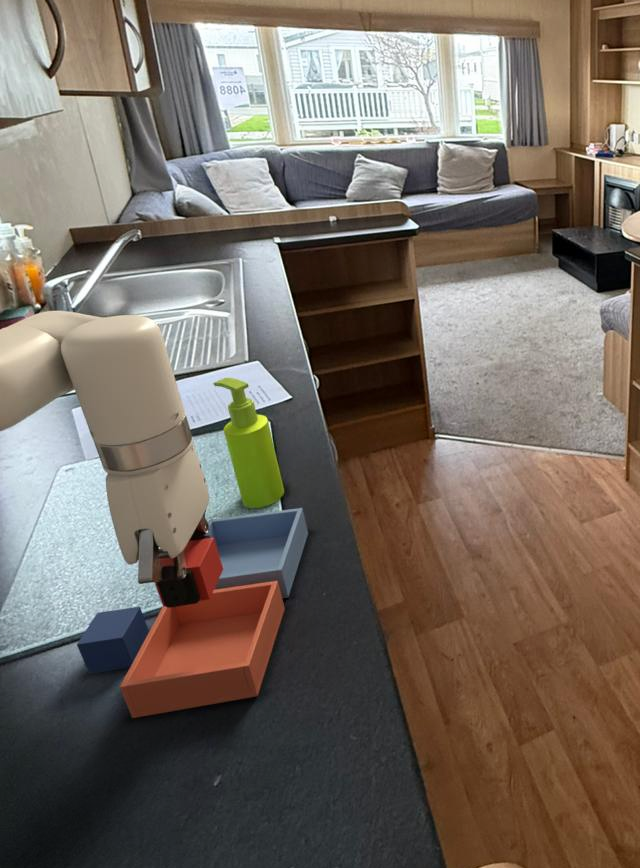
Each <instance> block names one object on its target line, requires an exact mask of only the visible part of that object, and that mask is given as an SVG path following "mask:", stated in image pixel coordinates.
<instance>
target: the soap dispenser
mask: <svg viewBox="0 0 640 868" xmlns="http://www.w3.org/2000/svg"><path fill="white" fill-rule="evenodd" d="M212 384H213V385H214V387H221V388H224V389H227V390H229V391H230V394H231V398H232V401H231V402H230V403H229V404H228V405H227V410H228V413H229V417H230V421H229V422H227V423H226V424H225V426H224V427H223V434H224V437H225V442H226V445H227V448H228V452H229V456H230V460H231V463H232V468H233V471H234V475H235V479H236V482H237V487H238V490H239V495H240V498H241V501H242V502H241V503H242V504H243V506H245V507H246V508H250V509H260V508H266V507H268V506H271V505H273V504H274V503H276V502H278V501H279V500H280V499H282V497H283V496H284V494H285V488H284V484H283V480H282V475H281V471H280V467H279V462H278V458H277V454H276V450H275V445H274V441H273V436H272V432H271V428H270V424H269V420H268V417H266V415H263V414H259V413H258V414H257V410H256V406H255V401H254V400H253V399H252V398H247V396H246V392H245V390H246V389H248V388H249V387H250V386H249V383H247V382H246V381H243V380H240V379H238V378H234V377H224V378H222V379H220V380H217V381H215V382H213V383H212Z"/></svg>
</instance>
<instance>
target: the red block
mask: <svg viewBox="0 0 640 868" xmlns="http://www.w3.org/2000/svg"><path fill="white" fill-rule="evenodd" d="M183 550H184V556H185V562H186V568H187V570H192V572H193V576H194V579H195V582H196V585H197V588H198V591H199V594H200V600H199V601H203V600H209V599H210V597H211V595H212V593H213V591H214V589H215V586H216V584H217V582H218V580H219V578H220V575H221V573H222V571H223V566H222V563H221V560H220V556H219V553H218V550H217V546H216V543H215V540H214V538H207V539H199V540H192V541H188V543H187V545H186V546H185V548H184V549H183ZM161 564H162V567H163V566H174V561H173V558H163V559H161ZM154 585H155V587H156V590H157V593H158V596H159V599H160V601H161V605H162V607H163V606H165V604H164V601H163V599H162V596H161V593H160V590H159V587H158V585H157V582H155V583H154Z"/></svg>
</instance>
